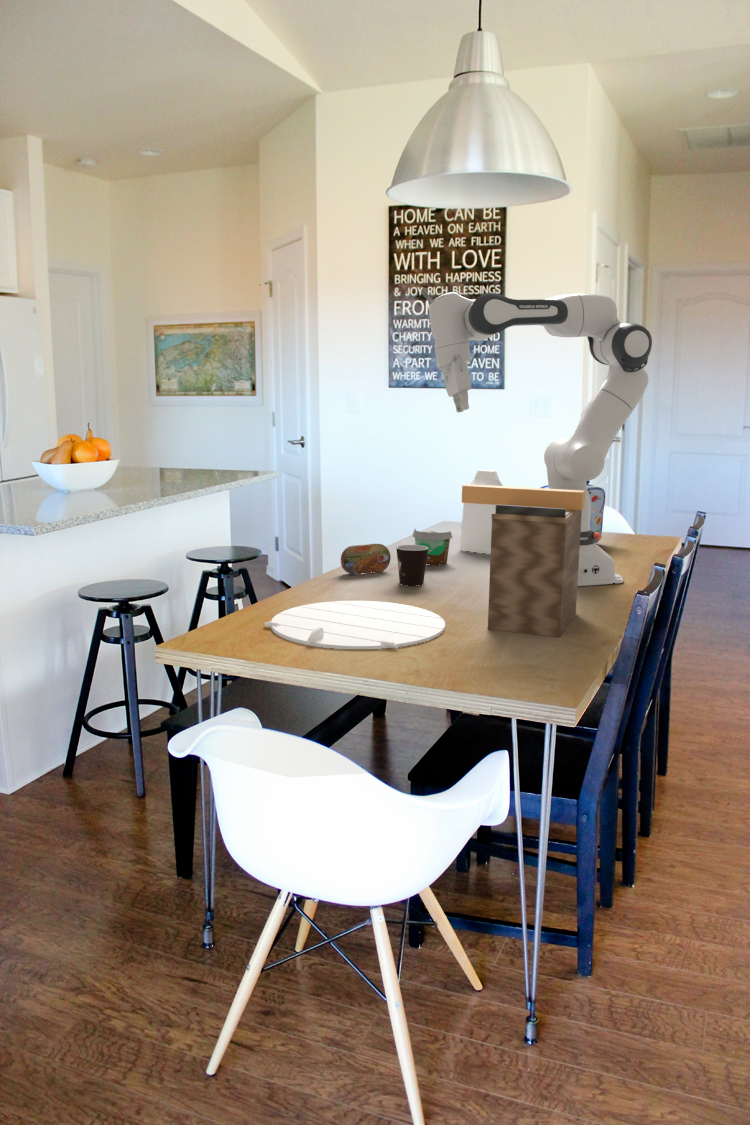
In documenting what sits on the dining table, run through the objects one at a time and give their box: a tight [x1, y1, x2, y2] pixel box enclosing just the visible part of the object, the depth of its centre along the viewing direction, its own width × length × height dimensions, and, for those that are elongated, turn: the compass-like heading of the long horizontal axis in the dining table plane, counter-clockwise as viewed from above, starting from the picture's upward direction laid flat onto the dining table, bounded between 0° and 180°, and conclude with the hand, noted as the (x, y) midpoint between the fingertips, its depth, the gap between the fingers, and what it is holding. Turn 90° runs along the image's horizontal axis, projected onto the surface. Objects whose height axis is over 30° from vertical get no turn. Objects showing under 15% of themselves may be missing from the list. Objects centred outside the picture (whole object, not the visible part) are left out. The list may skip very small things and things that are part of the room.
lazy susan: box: [263, 600, 446, 650], centre depth 206 cm, size 40×39×3 cm
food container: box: [412, 528, 453, 566], centre depth 275 cm, size 12×6×10 cm, turn 68°
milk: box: [459, 469, 504, 555], centre depth 297 cm, size 12×12×26 cm
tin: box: [340, 543, 391, 576], centre depth 261 cm, size 15×3×8 cm, turn 118°
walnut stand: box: [487, 504, 582, 638], centre depth 209 cm, size 16×23×28 cm
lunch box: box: [540, 480, 606, 544], centre depth 308 cm, size 28×10×22 cm, turn 123°
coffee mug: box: [396, 544, 428, 587], centre depth 249 cm, size 12×9×10 cm
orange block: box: [461, 483, 585, 510], centre depth 213 cm, size 28×4×4 cm, turn 69°
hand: (462, 411), depth 239 cm, fingers open, 8 cm apart
